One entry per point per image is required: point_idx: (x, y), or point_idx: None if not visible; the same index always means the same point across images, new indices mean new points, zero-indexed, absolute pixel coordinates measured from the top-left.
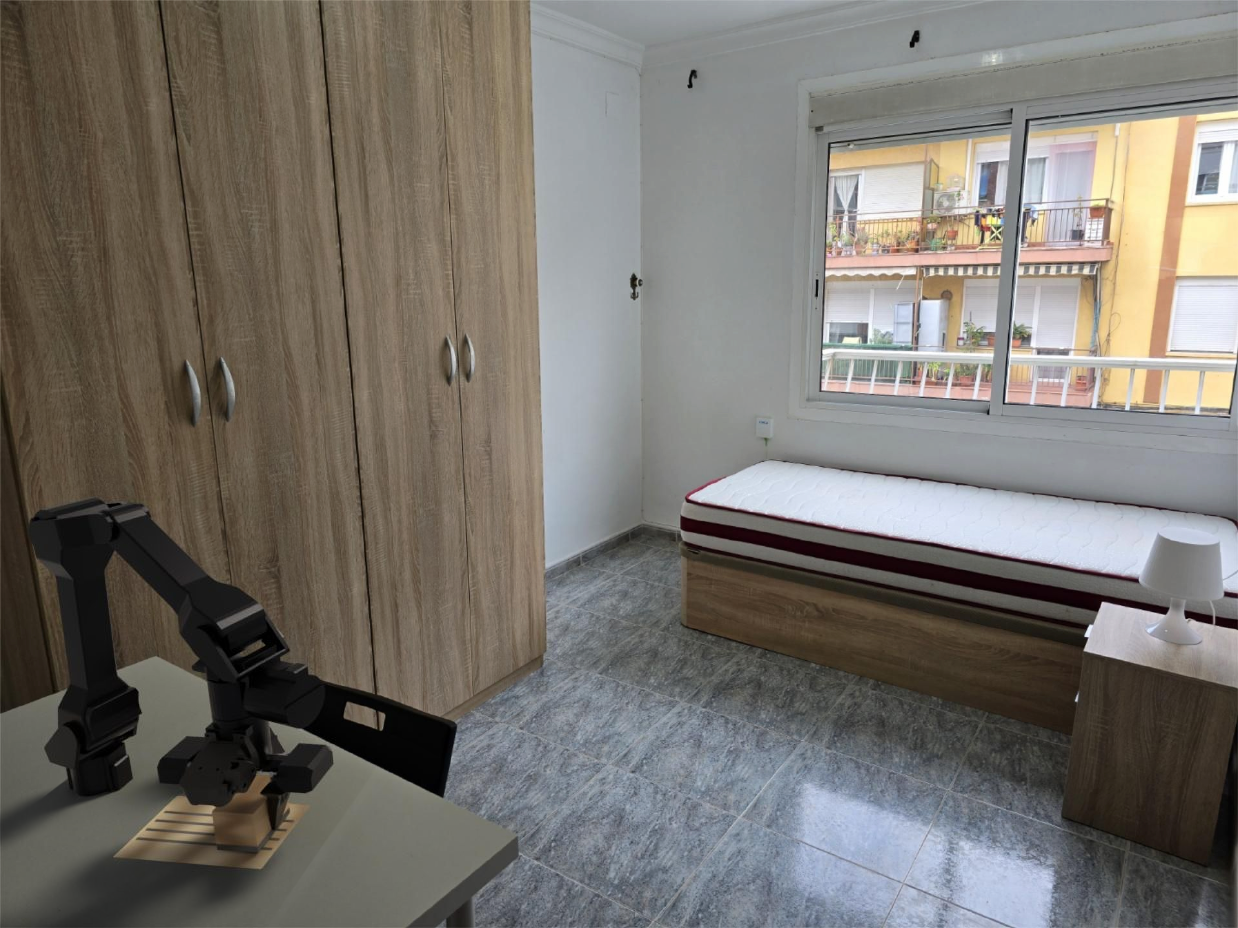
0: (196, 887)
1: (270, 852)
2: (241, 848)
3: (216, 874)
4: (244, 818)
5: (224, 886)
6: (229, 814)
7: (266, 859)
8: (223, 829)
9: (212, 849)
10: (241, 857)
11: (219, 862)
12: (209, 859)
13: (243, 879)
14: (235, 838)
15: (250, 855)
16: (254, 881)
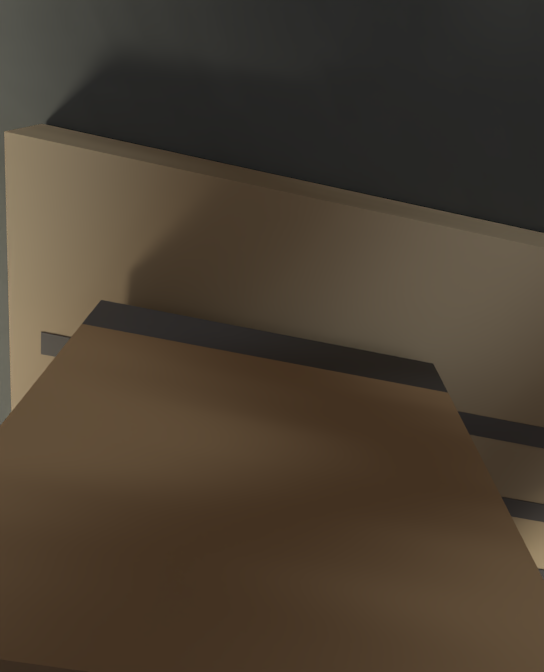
0: (500, 72)
1: (34, 310)
2: (233, 336)
3: (390, 199)
4: (60, 569)
5: (289, 60)
6: (312, 660)
7: (22, 239)
8: (395, 475)
9: (471, 382)
10: (230, 283)
11: (380, 244)
12: (467, 286)
13: (177, 125)
14: (271, 394)
15: (171, 296)
16: (85, 94)
